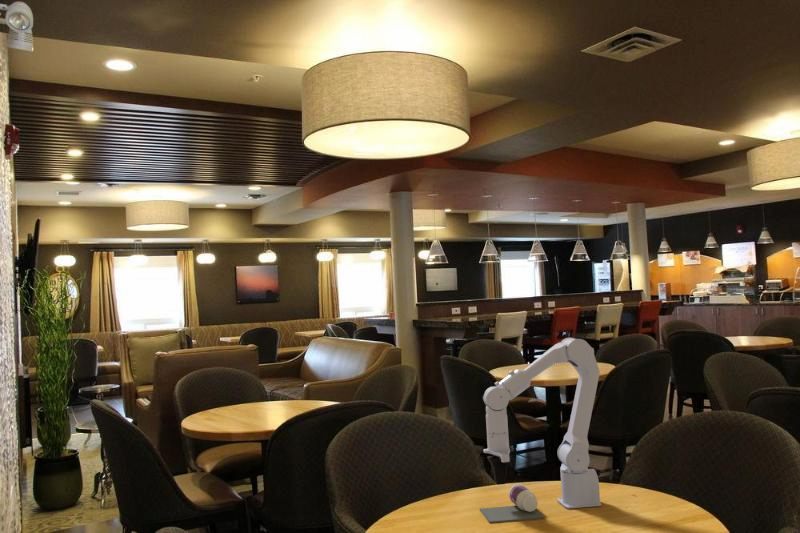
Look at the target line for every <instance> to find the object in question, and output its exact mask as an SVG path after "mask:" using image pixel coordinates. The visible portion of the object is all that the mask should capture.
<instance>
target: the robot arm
mask: <svg viewBox="0 0 800 533" xmlns="http://www.w3.org/2000/svg"><path fill="white" fill-rule="evenodd" d="M561 363H569V364H571V366H572V367H573V368H574V370H575V371H576V372H577V374H578V379H577V384H576V389H575V394H574V399H573V403H572V404H573V405H572V408H571V414H570V418H569V424H568V427H567V432H566V433H565V434H564V436H563V440H562V442H561V444H560V445H559V447H558V448H557V458H558V460H559V461H560V462H561V466H560V467H559V468H560V470H559V471H560V486H561V487H560V488H561V489H560V490H561V498H559V497H558V498H557V499H556V501H558V503H559V504H561V505H562V506H563V507H564V508H566V509H580V508H591V507H601V506H602V503H601V496H600V482H599V477H598V474H597V471H596V470H595V469H594V468H588V467H589V465H590V460H591V459H590V455H589V448H590V444H589V440H588V436H589V435H588V433H589V428H590V423H591V419H592V412H593V409H594V404H595V399H596V393H597V388H598V383H599V378H600V368H599V365H598V362H597V359H596V357H595V350H594V349H593V347H592V346H591V345H590V344H589V343H588V342H587V341H586V340H585V339H582V338H574V337H566V338H564V339H562V340H561V341H560V342H557V343H555V344H554V345H553V346H551V347H550V348H549V349H547V350H546V351H545V352H543V354H541V355H540V356H538V358H536V359H535V360H534V361H532V363H530V364H529V365H527V366H526V367H525V368H524V369H520V368H516V369H515V370H513V369H510V370H509V371H508V375H507V376H505V377H504V378H502V380H500V381H496V382H494V385H495V386H490V387H488V388H487V389H486V390H485V391H484V394H483V396H482V400H483V402H484V404H485V412H486V413H485V423H486V424H485V425H486V442H487V443H486V444H487V448H484V449H483V453H484V454H489V455H488V456H487V457H486V458H487V460H488V462H489V465H490V467H491V469H492V472H493V478H494V482H495V484H496V485H505V483H506V480H507V473H508V467H509V465H510V463H511V460H512V459H511V457H510V453H511V449H510V440H509V427H508V426H509V425H508V414H507V407H508V405H509V401H512V400H513V399H515V398H516V397H517V396H519V395H520V394H522V393H523V392H525V390H527V389H528V388H530V387H531V381H532V379H534V378H536V377H537V376H539V375H540V374H542V373H543V372H545V371H546V370H547V369H549V368H550V367H552V366H553V365H555V364H561Z"/></svg>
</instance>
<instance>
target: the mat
mask: <svg viewBox="0 0 800 533" xmlns="http://www.w3.org/2000/svg"><path fill="white" fill-rule="evenodd" d="M479 511H480V512H481V514H482V515H483V516H484V518H485V519H486V520H487V522H488V523H489V524H496V523H498V524H499V523H507V522H518V521H519V522H520V521H521V522H522V521H531V520H532V521H534V520H543V519H545V516H544V515H543V514H542V513H540V511H539V510H537V508H536V509H535V510H534V511H531V512H529V511H523V510H521V509H520V508H518V507H517V506H516V505H509V506H508V505H506V506H495V507H482V508H479Z"/></svg>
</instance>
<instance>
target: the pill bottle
mask: <svg viewBox="0 0 800 533" xmlns="http://www.w3.org/2000/svg"><path fill="white" fill-rule="evenodd" d="M508 498H509V499H510V501H511V502H512V503H513V505H514V506H517V507H518V508H520V509H521V510H523V511H529V512H531V511H534V510H535V509H536V510H537V507H538V500H537V497H536V495H535V493H534V492H532V491H531V490H530V489H529V488H527V487H526V486H524V485H523V484H520V483H517V484H514V485H513V486H511V488H510V489H509V491H508Z"/></svg>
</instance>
